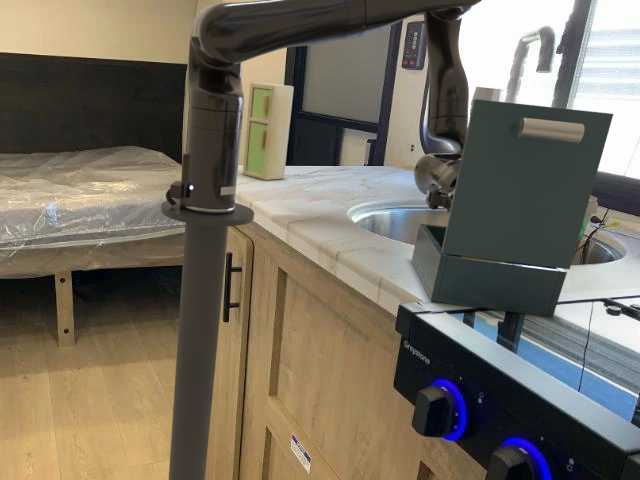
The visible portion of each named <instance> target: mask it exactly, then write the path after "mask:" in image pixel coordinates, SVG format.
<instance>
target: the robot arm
mask: <svg viewBox="0 0 640 480" xmlns="http://www.w3.org/2000/svg"><path fill="white" fill-rule="evenodd" d="M484 1H485V0H250V1H235V2H234V1H233V2H232V1H226V2H218V3H215V4H211V5H208V6H206V7H204V8H203V9H201V10H200V11H199V12H198V13H197V14H196V16H195V17H194V19H193V20H192V23H191V27H190V33H189V43H188V44H189V45H188V46H189V47H188V67H187V68H188V69H187V72H188V73H187V89H188V113H187V129H186V145H185V152H184V153H183V154H182V159H181V160H182V162H181V178H180V180H175V181H173V182H172V183H171V184H170V188H169V189H168V190H167V191H166V193H165V200H166V201H168V202H169V203H170V204H171V205H172V206H173V205H175V204H176V202H175V201H174V200H173V199H180V209H184V210H188V211H191V212H195V213H200V214H208V215H224V214H230V213H233V212H234V209H235V205H234V203H236V192H237V182H238V170H239V159H240V151H241V139H242V129H243V118H244V110H245V109H244V106H245V94H244V91H243V85H242V73H243V62H247V61H249V60H251V59H254V58H257V57H260V56H263V55H267V54H269V53H272V52H276V51H279V50H283V49H287V48H292V47H294V48H295V47H305V46H317V45H325V44H332V43H339V42H342V41H347V40H352V39H357V38H361V37H365V36H368V35H370V34H374V33H376V32H379V31H382V30H384V29H386V28H388V27H391V26H393V25H395V24H397V23H400V22H402V21H404V20H406V19H408V18H410V17H413V16H416V15H419V14H422V13H423V20H424V28H425V40H426V48H427V50H426V51H427V62H428V105H427V123H426V124H427V125H426V132H427V133H426V134H427V136H428V137H429V139H431V140H433V141H439V142H444V143H446V144H449V145H450V146H451V147H452V148H453V149H452V150H454V153H453V152H452V153H451V152H450V153H448V152H447V153H444V152H443V153H441V152H439V153H438V152H436V153H435V152H433V153H427V154H424V155H423V156H421V157H420V158H419V159H418V160H417V162H416V164H415V168H414V170H413V179H414V183H415V186H416V188H417V189H418V190H419V191H420V193H421V194H423V195H425V196H426V197H425V203H426V205H427V206H428V208H429V209H431V210H433V211H434V210H438V209H439V207H441V208H443V209H442V211H444V212H445V213H450V208H451V204H452V199H453V194H454V190H455V185H456V180H457V176H458V171H459V166H460V162H461V157H462V152H463V147H464V143H465V138H466V133H467V129H468V124H469V119H470V112H471V111H470V109H471V108H470V107H471V106H470V105H471V102H472V99H471V97H472V96H471V93H472V92H471V83H470V78H469V75H468V72H467V69H466V66H465V63H464V60H463V55H462V50H461V34H462V33H461V32H462V27H463V26H462V25H463V20H464V17H465V15H467V14H468V13H470V12H471V11H473V10H474V9H475V8H477V7H479V6H480V5H482V3H483V2H484Z"/></svg>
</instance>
